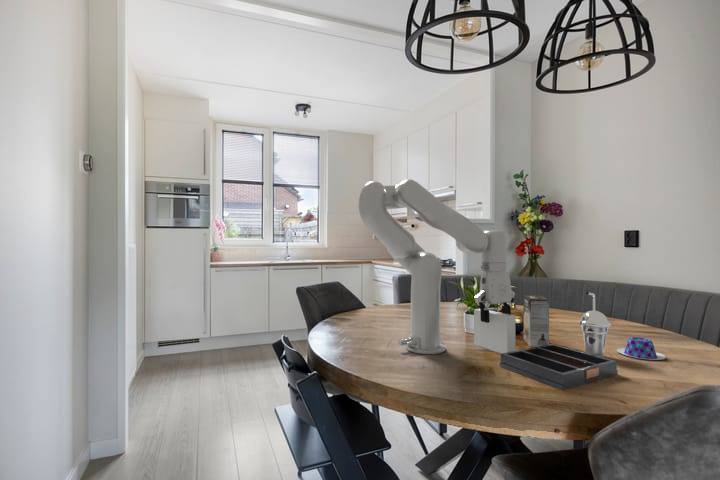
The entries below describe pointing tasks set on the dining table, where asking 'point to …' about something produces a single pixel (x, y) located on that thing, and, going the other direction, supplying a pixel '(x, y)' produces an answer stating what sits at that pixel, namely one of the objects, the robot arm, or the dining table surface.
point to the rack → (558, 365)
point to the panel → (495, 332)
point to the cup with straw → (594, 330)
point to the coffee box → (536, 320)
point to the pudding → (641, 349)
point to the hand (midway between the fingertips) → (496, 320)
